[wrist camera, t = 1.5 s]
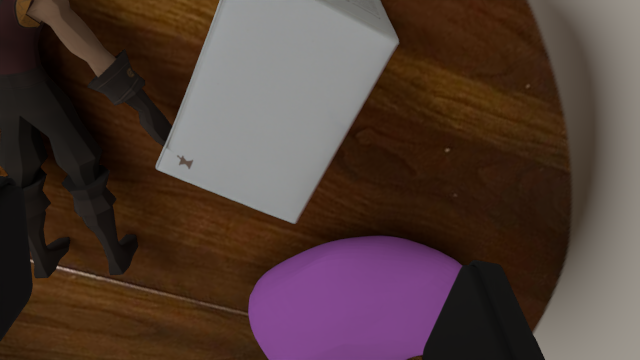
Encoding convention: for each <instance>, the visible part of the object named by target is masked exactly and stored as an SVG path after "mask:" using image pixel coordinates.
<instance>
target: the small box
mask: <svg viewBox="0 0 640 360" xmlns="http://www.w3.org/2000/svg"><path fill="white" fill-rule="evenodd" d="M398 45H399V39H398V37H397V35H396V33H395V31H394V29H393V27H392V25H391V22H390V21H389V18H388V16H387V14H386V12H385V9H384V8H383V6H382V3H381V1H380V0H220V1H219V4H218V7H217V10H216V13H215V15H214V18H213V21H212V24H211V27H210V29H209V32H208V35H207V37H206V40H205V43H204V46H203V48H202V51H201V54H200V56H199V59H198V62H197V64H196V67H195V70H194V72H193V75H192V78H191V80H190V83H189V85H188V88H187V91H186V93H185V96H184V99H183V101H182V104H181V106H180V109H179V112H178V114H177V117H176V119H175V122H174V124H173V127H172V129H171V132H170V134H169V136H168V139H167V141H166V143H165V145H164V148H163V150H162V152H161V155H160V157H159V159H158V161H157V163H156V166H155V167H156V169H157V170H159V171H161V172H164V173H166V174H169V175H171V176H174V177H176V178H179V179H181V180H183V181H186V182H188V183H191V184H194V185H196V186H199V187H201V188H203V189H206V190H209V191H211V192H214V193H216V194H219V195H221V196H224V197H226V198H229V199H231V200H234V201H237V202H239V203H242V204H244V205H247V206H249V207H252V208H254V209H257V210H259V211H262V212H264V213H267V214H269V215H272V216H274V217H277V218H280V219H283V220H286V221H288V222H290V223H293V224H294V223H297V222H298V220H299V218H300V216H301V214H302V213H303V211H304V209H305V207H306V206H307V204H308V202H309V200H310V199H311V197H312V195H313V193H314V191H315V190H316V188H317V186H318V184H319V183H320V181H321V179H322V177H323V175H324V174H325V172H326V170H327V168H328V167H329V165H330V163H331V162H332V160H333V158H334V156H335V155H336V153H337V151H338V149H339V147H340V146H341V144H342V142H343V140H344V139H345V137H346V135H347V133H348V132H349V130H350V128H351V126H352V125H353V123H354V121H355V119H356V117H357V116H358V114H359V112H360V110H361V109H362V107H363V105H364V103H365V102H366V100H367V98H368V97H369V95H370V93H371V91H372V90H373V88H374V86H375V84H376V83H377V81H378V79H379V77H380V76H381V74H382V72H383V70H384V68H385V67H386V65H387V63H388V61H389V60H390V58H391V56H392V54H393V53H394V51H395V49H396V48H397V46H398Z"/></svg>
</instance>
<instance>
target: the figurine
mask: <svg viewBox="0 0 640 360" xmlns="http://www.w3.org/2000/svg"><path fill="white" fill-rule="evenodd" d="M44 23H47V24H48V25H50V26H51V27H52V29H53V30H54V32H55V33H56V35H57V36H58V37H59V39H60V40H61V41H62V42H63V44H64V45H65V46H66V47H67V48H68V49H69V50H70V51H71V52H72V53H73V54H75V55H77V56H78V57H80V58H82V59H83V60H85V61H87V62H88V64H89V65H90V67H91V68H92V70H93V71H94V73H95V74H96V75H97V76H96V77H95V78H94V79H93V80H92V81H91V82H90V83H89V85H88V86H87V87H88V88H91V89H93V90H96V91H98V92H101V93H103V94H105V95H106V96H107V97H108V98H109V99H110V100H111V102H112V103H113V104H114V105H118V104H121V103H123V102H125V103H127V104H128V105H130V106H131V107H133V108H134V109H136V110H137V111H139V118H140V124H141V125H142V126H143V128H144V129H145V130H146V131H147V132H148V133H149V134H150V136H151V137H152V138H153V139H154V140H155V141H156V142H158V143H159V144H161V145H162V146H164V145H165V143H166V141H167V139H168V136H169V134H170V132H171V129H172V125H171V124H170V123H169V121H168V120H167V119H166V117H165V116H164V115H163V113H162V112H161V111H160V110H159V109H158V108H157V107H156V106H155V104H154V103H153V102H152V101H151V100H150V98H149V97H148V96H147V95H146V93H145V92H144V91H143V89H142V87H143V86H144V85H145V80H144V79H142V78H141V77H140V76H139V75H138V74H137V73H136V72H135V71H133V70H132V68H131V65H130V62H129V59H128V56H127V53H126V51H125V49H124V50H123V51H121V52H120V53H119V54H118V55H117V56H116V57H114V56H113V55H112V54H110V53H109V52H108V51H107V50H106V49H105V48H104V47H103V46H102V44H101V43H100V42H99V40H98V39H97V38H96V36H95V35H94V34H93V32H92V31H91V30H90V29H89V27H88V26H87V25H86V24H85V23H84V21H83V20H82V19H81V18H80V17H79V16H78V15H77V14H76V13H75V12H74V11H73V10H72V9H71V8H70V4H69V0H0V128H1V141H0V166H1V167H2V168H3V169H4V170H5V171H6V172H7V174H8V176H6V177H9V178H12V179H14V181H15V183H16V186H19V187H21V188H22V189H23V191H24V197H25V208H26V219H27V230H28V240H29V249H30V252H31V255H32V258H33V261H34V265H35V266H34V276H35V278H48V277H49V276H50V275H51V274H52V273H53V272H54V271H55V269H56V267H57V265H58V263H59V260H60V259H61V258H62V257H63V256H64V255H65V254H66V253H67V252H68V250H69V244H70V239H69V237H66V238H59V239H57V240H55V241H54V242H52V243H50V244H49V245H48V246H46V244H45V238H44V231H43V228H44V222H45V215H46V212H45V209H46V208H47V207H48V206H49V205H50V204H51V202H50V201H49V199H48V198H47V197H46V195H45V194H44V192H43V191H42V189H43V186H44V182H45V179H46V175H47V174H46V173H45V172H44V171H43V170H42V169H41V168H40V167H41V165H42V164H43V163H44V161H45V160H46V158H47V157H48V154H47V151H46V149H45V146H44V143H43V140H42V137H41V134H40V131H41V132H43V133H44V134H45V135H47V136H48V137H49V139H50V142H51V146H52V149H53V153H54V156H55V159H56V163H57V164H58V165H59V166H60V167H61V168H62V169H63V170H64V171H65V172H66V173H67V174H68V175H67V177H66V178H65V179H64V181H63V182H62V185H63V186H64V187H65V188H66V189H67V190H68V191H69V192H70V193H71V194H72V195H73V199H74V211H75V212H76V213H77V214H78V215H79V216H80V217H82V219H83V221H84V222H85V224H86V226H87V227H88V228H89V229H91V230H92V231H93V232H94V233H95V234H96V236H97V237H98V239H99V240H100V242H101V244H102V245H103V248H104V251H105V254H106V257H107V259H108V262H109V273H110V275H120V274H123V273H124V272H125V271H126V270H127V269H128V268H129V266H130V264H131V261H132V257H133V255H134V253H135V251H136V250H137V248H138V242H137V238H136V235H127V234H126V235H125V236H124V237H123V238H122V239H121V240H120V241H119V242H118V239H117V232H116V226H115V217H114V209H113V206H112V205H113V204H114V202H115V201H116V198H115V196H114V195H113V194H112V193H111V192H110V191H109V190H108V189H107V188H106V185H107V181H108V177H109V173H110V171H109V170H108V169H107V168H106V167H105V166H103V165H99V160H100V157H101V153H102V149H101V148H100V146H99V145H98V144H97V143H96V141H95V140H94V139H93V137H92V136H91V134H90V133H89V132H88V130H87V129H86V127H85V126H84V125H83V123H82V122H81V120H80V118H79V116H78V114H77V112H76V110H75V108H74V106H73V104H72V102H71V100H70V98H69V97H68V96H67V95H66V94H65V93H64V92H63V91H62V90H61V89H60V88H59V87H58V86H57V85H56V84H55V83H54V82H53V81H52V80H51V78H50V77H49V76H48V75H47V73H46V71H45V70H44V68H43V67H42V65H41V63H40V56H39V50H38V41H39V35H40V32H41V29H42V27H43V25H44ZM39 130H40V131H39Z"/></svg>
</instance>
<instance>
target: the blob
mask: <svg viewBox="0 0 640 360" xmlns="http://www.w3.org/2000/svg"><path fill="white" fill-rule="evenodd" d="M461 267H462V265H461V264H460V263H458V262H457V261H456V260H454V259H453V258H451V257H449V256H447V255H445V254H444V253H442V252H440V251H438V250H435V249H433V248H430V247H428V246H425V245H423V244H420V243H417V242H414V241H410V240H407V239H403V238H398V237H392V236H366V237H355V238H347V239H341V240H336V241H331V242H328V243H325V244H321V245H319V246H316V247H313V248H311V249H308V250H306V251H304V252H302V253H299V254H297V255H295V256H294V257H291V258H289V259H287V260H285V261H283V262H282V263H280V264H278V265H276V266H275V267H273V268H272V269H270V270H269V271H267V272H266V273H265V274H264V275H263V276H262V277H261V278H260V279H259V280H258V281H257V283H256V285H255V287H254V289H253V291H252V293H251V295H250V298H249V311H248V312H249V319H250V324H251V329H252V331H253V333H254V336H255V338H256V340H257V342H258V343H259V345H260V347H261V348H262V350H263V351H264V353H265V355H266V356H267V357H268V359H269V360H406V359H408V358H411V357H414V356H418V355H423V350H424V347H425V344H426V342H427V340H428V338H429V335H430V333H431V331H432V329H433V327H434V325H435V322H436V320H437V318H438V316H439V314H440V312H441V309H442V307H443V305H444V303H445V301H446V299H447V296H448V294H449V292H450V290H451V288H452V286H453V283H454V281H455V279H456V277H457V275H458V273H459V271H460V269H461Z"/></svg>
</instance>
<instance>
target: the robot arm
mask: <svg viewBox="0 0 640 360" xmlns="http://www.w3.org/2000/svg"><path fill="white" fill-rule="evenodd" d="M32 286H33V283H32V272H31V262H30V251H29V240H28V230H27V219H26V208H25V197H24V191H23V189H22V188H21V187H19V186H16V183H15V181H14V179H12V178H9V177H3V176H0V341H1V340H2V338H3V337H4V335H5V334H6V333H7V331H8V330H9V328H10V327H11V325H12V324H13V322H14V321H15V320H16V318H17V317H18V315H19V314H20V312H21V311H22V309H23V308H24V307H25V305H26V304H27V302H28V300H29V298H30V296H31V292H32ZM423 360H545V359H544V356H543V354H542V352H541V350H540V348H539V345H538V343H537V341H536V339H535V337H534V336H533V334H532V332H531V330H530V328H529V325H528V323H527V321H526V319H525V317H524V315H523V312H522V310H521V308H520V306H519V304H518V301H517V299H516V297H515V295H514V293H513V290H512V288H511V286H510V284H509V282H508V280H507V277H506V275H505V273H504V271H503V269H502V267H501V266H500V265H498V264H494V263H488V262H483V261H477V260H473V261H472V262H470V264H469V265H463V266H462V267H461V269H460V271H459V273H458V275H457V277H456V279H455V281H454V283H453V286H452V288H451V290H450V292H449V294H448V296H447V299H446V301H445V303H444V305H443V307H442V309H441V312H440V314H439V316H438V318H437V320H436V322H435V325H434V327H433V329H432V331H431V333H430V335H429V338H428V340H427V342H426V344H425V347H424V350H423Z"/></svg>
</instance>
